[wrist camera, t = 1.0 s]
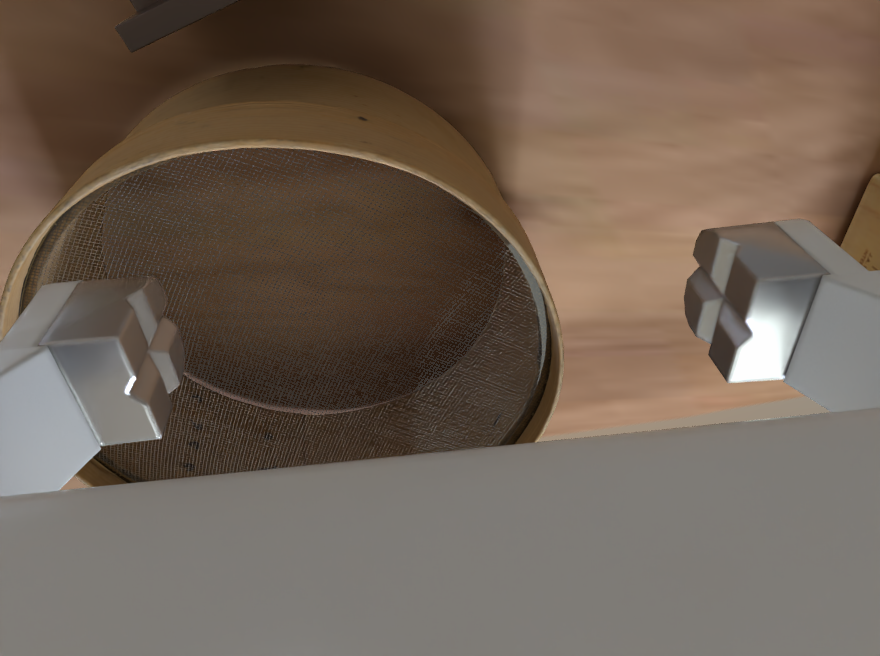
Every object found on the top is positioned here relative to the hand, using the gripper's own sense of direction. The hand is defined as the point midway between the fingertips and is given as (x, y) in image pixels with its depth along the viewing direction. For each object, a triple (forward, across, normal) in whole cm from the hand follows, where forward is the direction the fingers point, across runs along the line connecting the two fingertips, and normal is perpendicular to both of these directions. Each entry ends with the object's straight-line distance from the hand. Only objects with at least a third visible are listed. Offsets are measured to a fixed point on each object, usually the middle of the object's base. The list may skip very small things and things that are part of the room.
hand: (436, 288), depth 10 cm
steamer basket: (+26, +6, +15) cm, 30 cm away
